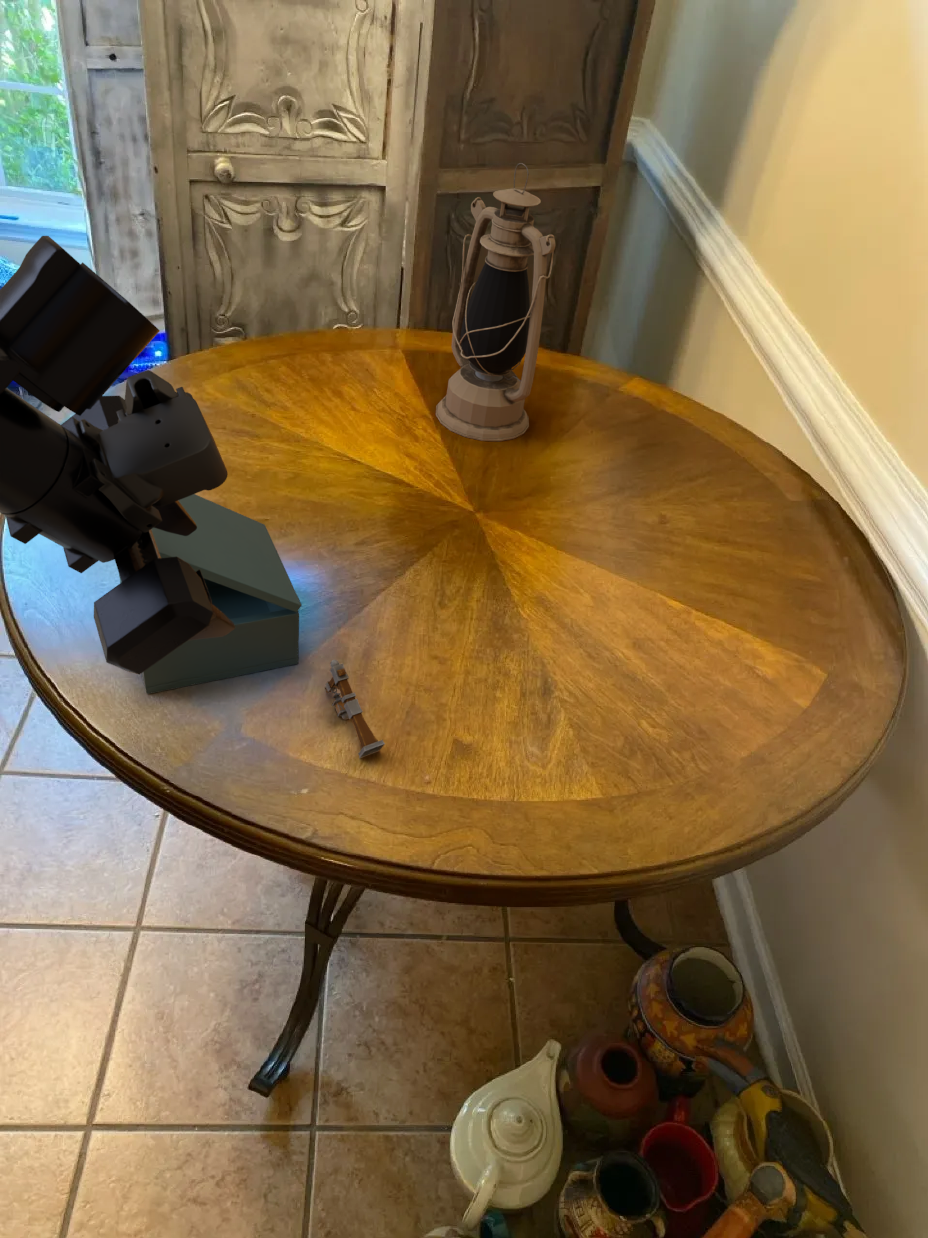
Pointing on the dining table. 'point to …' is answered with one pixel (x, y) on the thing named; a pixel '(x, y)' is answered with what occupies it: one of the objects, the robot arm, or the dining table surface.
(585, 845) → the dining table surface
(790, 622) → the dining table surface
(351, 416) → the dining table surface
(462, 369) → the lantern
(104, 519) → the robot arm
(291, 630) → the chest
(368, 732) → the toy rocket launcher
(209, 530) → the lid
